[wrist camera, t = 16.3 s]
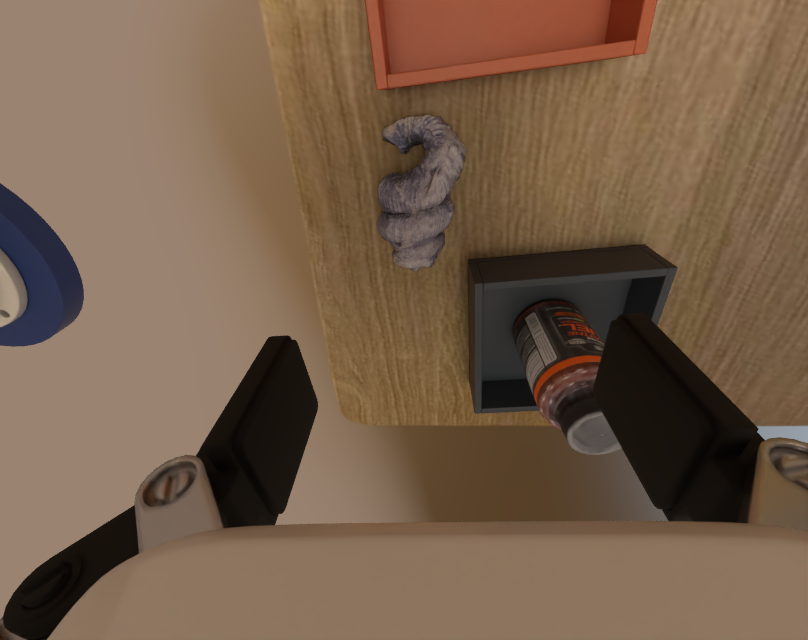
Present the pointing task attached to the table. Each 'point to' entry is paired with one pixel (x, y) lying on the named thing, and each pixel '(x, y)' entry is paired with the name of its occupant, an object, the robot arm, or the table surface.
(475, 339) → the slate bin
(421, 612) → the robot arm
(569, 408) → the supplement bottle
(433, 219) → the grey curved ribbed piece
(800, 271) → the table surface
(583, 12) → the terracotta bin
